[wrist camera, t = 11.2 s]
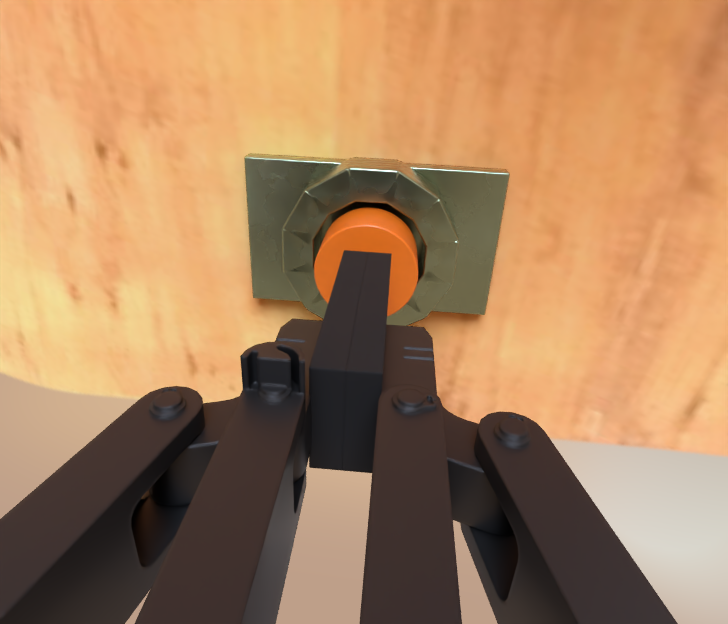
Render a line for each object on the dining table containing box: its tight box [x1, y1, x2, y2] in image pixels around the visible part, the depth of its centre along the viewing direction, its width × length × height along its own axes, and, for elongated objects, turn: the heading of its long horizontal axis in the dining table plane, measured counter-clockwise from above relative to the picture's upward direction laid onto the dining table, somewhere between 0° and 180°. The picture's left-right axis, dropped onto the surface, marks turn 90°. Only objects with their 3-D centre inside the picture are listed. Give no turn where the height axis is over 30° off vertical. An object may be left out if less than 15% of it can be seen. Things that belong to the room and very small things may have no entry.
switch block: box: [245, 154, 510, 326], centre depth 20 cm, size 10×6×2 cm, turn 87°
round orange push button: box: [314, 207, 418, 316], centre depth 19 cm, size 4×4×2 cm
